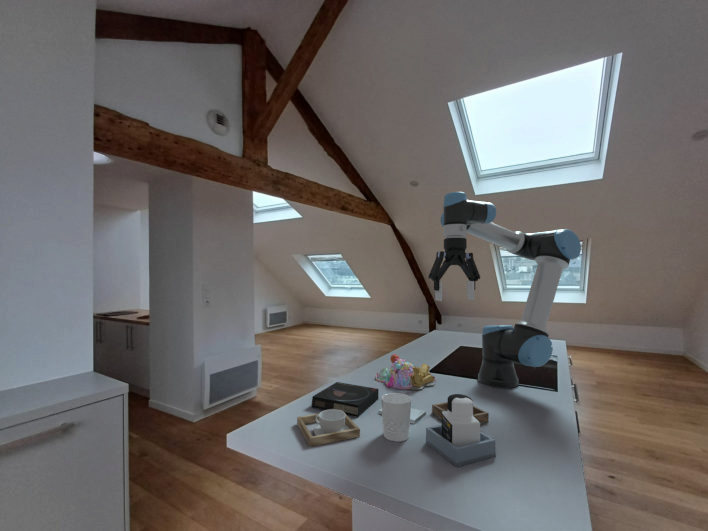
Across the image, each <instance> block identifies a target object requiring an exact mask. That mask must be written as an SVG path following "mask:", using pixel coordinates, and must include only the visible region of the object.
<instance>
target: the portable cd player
mask: <svg viewBox="0 0 708 531" xmlns="http://www.w3.org/2000/svg"><path fill="white" fill-rule="evenodd" d="M378 400H379V388H375V387H369V386H363V385H358V384H357V385H356V384H351V383H345V382H338V381H336V382H334V383H332V384H331V385H330V386H328V387H326V388H324V389H323V390H320V392H317V393H315V394H314V395H313V396H312V398H311V408H312V409H317V410H320V411H321V410H322V411H325V410H330V409H336V410H342V411H343V412H344V413H345V414H346V415H347V416H348V417H354V418H359V417H360V416H361V415H363V414H364V413H365V412H366V411H367V410H368V409H370V407H372V406H373V405H374V404H375V403H376V402H377V401H378Z"/></svg>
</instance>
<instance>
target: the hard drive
mask: <svg viewBox="0 0 708 531" xmlns="http://www.w3.org/2000/svg"><path fill="white" fill-rule="evenodd" d="M377 414H379V415H382V407H381V408H379V409H378V411H377ZM425 416H427V412H426V411H424V410H421V409H418V408H417V409H416V408H413V407H411V414H410V424H412V425H416V424H417V423H418V422H419V421H420V420H422V419H423V418H424V417H425Z"/></svg>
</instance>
